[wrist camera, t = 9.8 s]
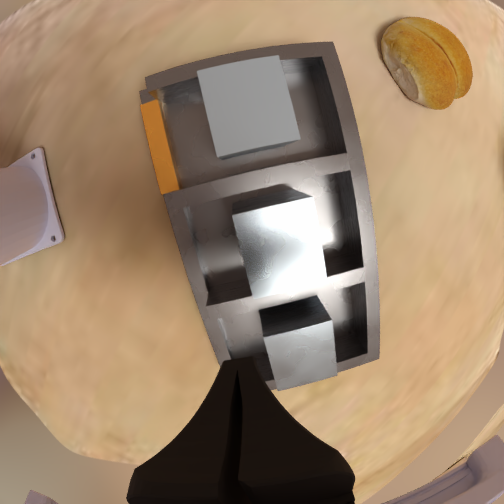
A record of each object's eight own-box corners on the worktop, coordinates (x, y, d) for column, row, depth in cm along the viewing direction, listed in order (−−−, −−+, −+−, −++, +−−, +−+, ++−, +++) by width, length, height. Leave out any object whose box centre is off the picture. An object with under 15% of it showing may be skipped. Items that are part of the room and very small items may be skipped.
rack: (225, 366, 23) (224, 417, 17) (146, 98, 17) (114, 74, 11) (360, 332, 23) (390, 374, 17) (315, 62, 17) (344, 28, 11)
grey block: (221, 160, 17) (217, 157, 13) (206, 95, 16) (196, 71, 11) (283, 146, 17) (300, 139, 13) (267, 82, 16) (278, 54, 11)
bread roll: (468, 88, 17) (496, 83, 13) (416, 122, 18) (447, 118, 14) (422, 14, 15) (445, 0, 11) (360, 37, 16) (382, 17, 12)
